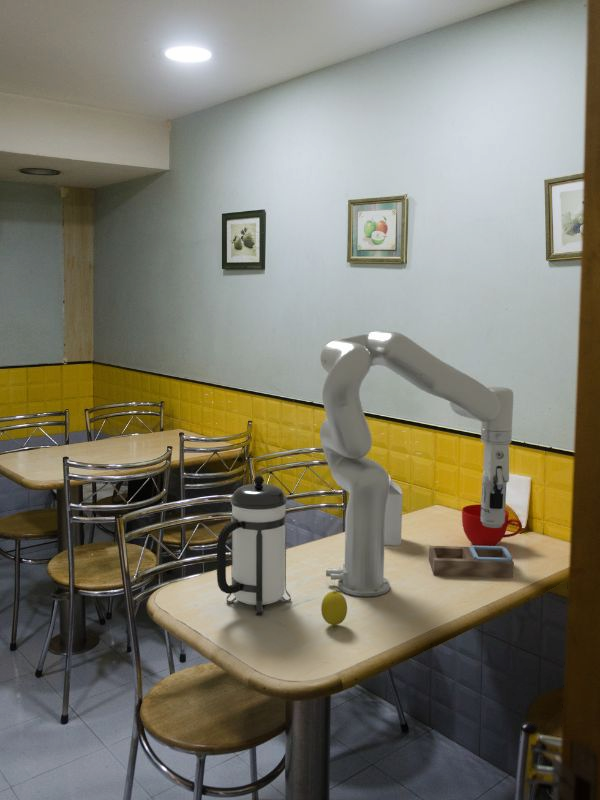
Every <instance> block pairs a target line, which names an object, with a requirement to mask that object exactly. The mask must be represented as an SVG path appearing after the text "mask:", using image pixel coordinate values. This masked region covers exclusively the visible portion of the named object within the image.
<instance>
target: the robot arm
mask: <svg viewBox="0 0 600 800" xmlns="http://www.w3.org/2000/svg"><path fill="white" fill-rule="evenodd" d="M320 363H321V364H320V365H321V366H322V368H323V369H324V370H325V371H326V373H328V374H327V377H326V378H325V381H324V384H323V387H322V393H321V394H322V403H323V408H324V412H325V415H326V417H325V419H324V420H323V422H322V423H321V425H320V429H319V439H320V444H321V447H322V450H323V452H324V457H325V459H326V463H327V464H328V468H329V470H330V474H331V476H332V478H333V480H334V481H335V483H336V484H337V485H338V486H339V487H340V488H341V489H343V490H345V491H346V492H347V493H349V498H348V502H347V505H346V510H345V522H344V523H345V524H344V525H345V531H344V564H343V565H342V567H339V568H336V569H335V568H325V570H326V571H325V576H326V577H330V580H334V581H335V580H338V581H337V587H338V588H339V590H340V591H342V592H344V594H347V595H351V596H356V597H367V598H368V597H377V596H381V595H384V594H385V593H387V592H388V591H389V590H390V589H391V587H390V585H391V582H390V581H389V580H388V579H387V578H385V577H384V576H385V571H384V570H385V545H384V542H385V511H386V502H387V497H388V493H389V486H390V482H389V474H388V472H387V470H386V468H384V466H382V465H381V464H380V463H379V462H377V461H375V460H373V459H370V458H369V457H366V456H367V455H368V454H369V453H370V451H371V448H372V445H373V441H372V439H373V438H372V434H371V430H370V427H369V425H368V422H367V419H366V415H365V412H364V410H363V407H362V401H361V399H360V398H361V397H360V390H361V385H362V383H363V381H364V379H365V378H366V377H367V375H368V373H369V371H370V370H371V367H375V366H377V365H378V366H383V367H386V368H387V369H389V370H391V371H392V372H394V373H395V374H397V375H398V376H400V377H401V378H403V379H404V380H406V381H408V382H409V383H410V384H411V385H414V386H415V387H416V388H418V389H419V390H421V391H423V392H425V393H427V394H429V395H432V396H435V397H438V398H441V399H443V400H446V401H448V402H449V405H450V408H451V410H452V411H453V412H454V413H455V414H457V415H459V416H461V417H464V418H468V419H472V420H475V421H479V422H481V429H480V432H481V433H480V442H481V443H484V446H483V463H482V468H483V471H482V473H483V472H484V471H485V470H486V472H487V476H488V480H489V481H490V482H491V493H490V504H489V507H490V508H491V509H502V508H503V480H504V481H505V482H506V484H507V483H509V481H510V448H509V447H510V446H509V444H511V443H512V437H513V436H512V435H513V434H512V433H513V415H514V414H513V412H514V391H513V390H512V389H511V388H508V387H502V386H501V387H500V386H490V387H487V386H485V385H484V384H482V383H481V382H480V381H478V380H476V379H475V378H473V377H471V376H470V375H468V374H466V373H464V372H463V371H460V370H458V369H457V368H455V367H454V366H452V365H450V364H448V363H446V362H444V361H442V360H441V359H440V358H438V357H436V356H435V355H434V354H432V353H430V352H429V351H427V349H425V348H423V347H422V346H421V345H419V344H418V343H416V342H415V341H414V340H411V338H409V337H407V336H406V335H404V334H403V333H401V332H396V331H387V330H375V331H372V332H371V331H370V332H366V333H360V334H357V335H353V336H348V337H343V338H340V339H334V340H332V341H330V342H328V343H327V344H326V345H325V346H323V348H322V350H321V352H320ZM485 468H486V469H485ZM496 478H497V481H493V479H496ZM503 478H504V479H503ZM494 484H497V485H495V487H494Z"/></svg>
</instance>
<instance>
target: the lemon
mask: <svg viewBox="0 0 600 800" xmlns="http://www.w3.org/2000/svg"><path fill="white" fill-rule="evenodd" d="M320 606H321V607H320V608H321V616H322V618H323V620H324V621H325V622H326V623H328V624H329V625H331V626H332V627H336V626H337V625H339V624H341V623H343V622H344V621H345V619H346V617H347V613H348V603H347V600H346V598H345V596H344V595H343V594H342V593H340V592H338V591H337V590H332V591H330V592H327V594H325V596H324V597H323V599H322V602H321V605H320Z"/></svg>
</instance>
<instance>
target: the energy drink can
mask: <svg viewBox="0 0 600 800" xmlns="http://www.w3.org/2000/svg"><path fill="white" fill-rule="evenodd" d="M485 469H486V468H485ZM503 479H504V478H503ZM481 480H482V481H481V482H482V483H481V500H480V505H481V522H482V523H483V525H484V526H486V527H490V528H499V527H502V524H504V523H505V509H506V501H507V500H506V499H507V483H506V482H505V481H504V480H503V508H502V509H491V508H490V507H489V504H490V493H491V482H490V481H489V480H488V476H487V472H486V470H485V471H484V472H483V471H482V477H481ZM493 481H497V478H496V479H493ZM495 485H497V484H494V487H495Z"/></svg>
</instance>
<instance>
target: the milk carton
mask: <svg viewBox="0 0 600 800" xmlns="http://www.w3.org/2000/svg"><path fill="white" fill-rule="evenodd" d="M388 477H389V482H390V486H389V493H388V497H387V502H386V511H385V542H384V546H397V547H398V546H401V547H402V526H403V525H402V524H403V523H402V520H403V519H402V518H403V489H402V488H401V487H400V486H399V485H398V484H397V482H395V481H394V480H393V479H391V475H390V474H388Z"/></svg>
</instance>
